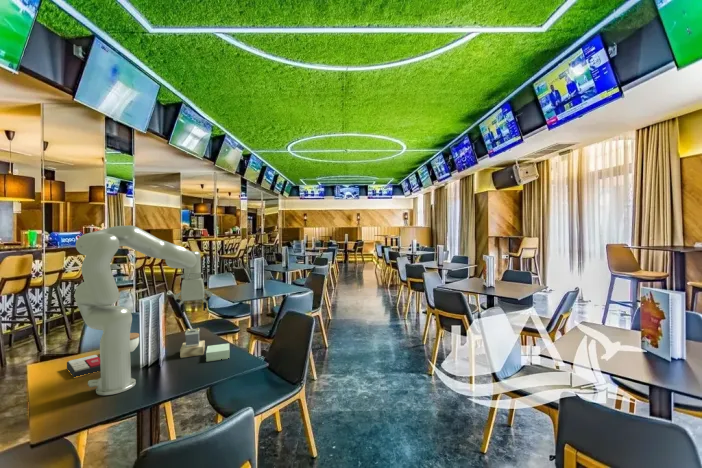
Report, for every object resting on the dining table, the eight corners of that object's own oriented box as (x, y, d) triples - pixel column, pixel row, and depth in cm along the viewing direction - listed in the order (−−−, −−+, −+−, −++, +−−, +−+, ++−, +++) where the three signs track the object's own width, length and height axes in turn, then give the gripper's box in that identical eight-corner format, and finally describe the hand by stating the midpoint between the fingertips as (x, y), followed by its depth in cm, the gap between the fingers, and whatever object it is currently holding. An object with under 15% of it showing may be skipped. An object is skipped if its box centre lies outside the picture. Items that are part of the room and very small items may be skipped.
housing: (185, 347, 162) (185, 332, 162) (187, 343, 168) (186, 328, 167) (198, 345, 164) (198, 330, 164) (200, 342, 170) (199, 327, 169)
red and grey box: (73, 370, 138) (66, 360, 148) (74, 381, 139) (66, 369, 148) (105, 362, 147) (96, 353, 157) (106, 372, 147) (97, 362, 157)
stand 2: (206, 361, 154) (206, 353, 154) (207, 354, 163) (207, 346, 163) (229, 358, 157) (229, 349, 157) (229, 351, 167) (229, 343, 167)
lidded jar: (144, 348, 173) (144, 330, 173) (124, 356, 163) (123, 336, 163) (130, 346, 177) (129, 328, 177) (109, 353, 167) (108, 334, 167)
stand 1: (180, 357, 159) (180, 349, 159) (183, 350, 169) (183, 342, 169) (203, 354, 163) (203, 346, 163) (204, 348, 172) (204, 340, 172)
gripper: (171, 278, 158) (172, 314, 159) (210, 276, 164) (212, 311, 164) (174, 276, 165) (175, 311, 166) (212, 274, 171) (213, 307, 171)
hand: (193, 311), depth 165 cm, fingers open, 9 cm apart
